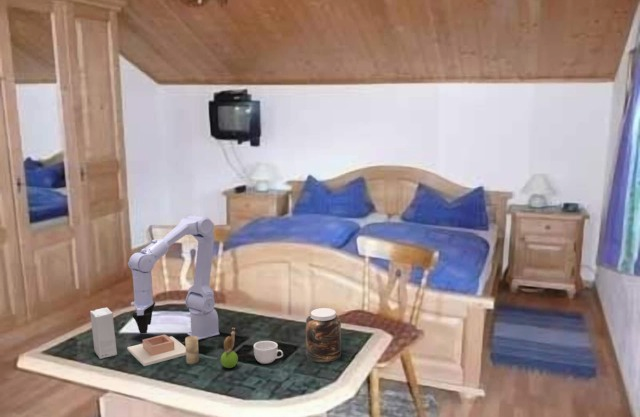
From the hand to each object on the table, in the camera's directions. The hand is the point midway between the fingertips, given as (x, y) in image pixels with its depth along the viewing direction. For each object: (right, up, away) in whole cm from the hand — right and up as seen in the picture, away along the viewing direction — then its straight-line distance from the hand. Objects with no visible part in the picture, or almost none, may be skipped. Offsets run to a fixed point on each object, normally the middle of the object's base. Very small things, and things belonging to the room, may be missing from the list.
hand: (145, 328), depth 191 cm
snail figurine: (+29, -11, -6) cm, 32 cm away
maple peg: (+16, -10, -2) cm, 19 cm away
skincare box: (-15, -9, +5) cm, 18 cm away
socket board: (+3, -9, +5) cm, 11 cm away
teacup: (+41, -10, -2) cm, 42 cm away
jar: (+59, -9, +2) cm, 60 cm away
